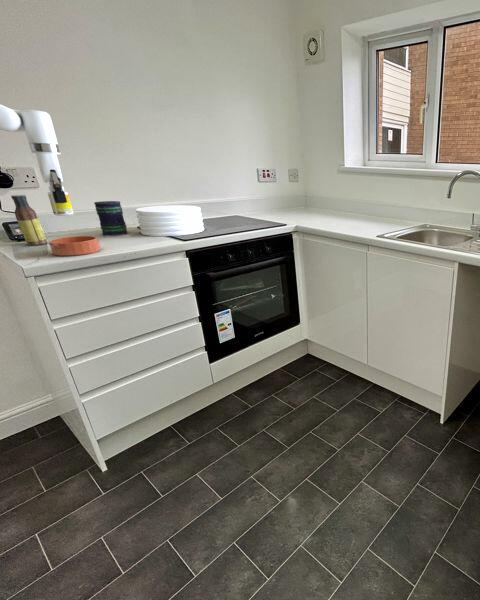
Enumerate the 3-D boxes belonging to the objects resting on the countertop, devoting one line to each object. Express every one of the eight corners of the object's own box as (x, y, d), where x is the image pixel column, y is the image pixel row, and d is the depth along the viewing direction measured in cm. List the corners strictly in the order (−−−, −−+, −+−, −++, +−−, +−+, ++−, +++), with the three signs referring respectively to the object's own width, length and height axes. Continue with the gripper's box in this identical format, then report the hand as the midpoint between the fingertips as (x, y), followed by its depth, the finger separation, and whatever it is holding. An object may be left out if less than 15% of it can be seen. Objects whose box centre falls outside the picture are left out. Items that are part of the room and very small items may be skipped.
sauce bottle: (44, 241, 151) (28, 194, 143) (50, 243, 148) (33, 195, 140) (23, 244, 145) (5, 194, 138) (29, 246, 142) (10, 196, 135)
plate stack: (131, 230, 178) (126, 207, 174) (188, 224, 200) (184, 204, 196) (155, 238, 164) (150, 213, 159) (214, 231, 185) (211, 209, 181)
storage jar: (98, 234, 169) (89, 202, 163) (120, 231, 177) (112, 200, 171) (110, 236, 165) (101, 203, 159) (132, 233, 173) (124, 202, 168)
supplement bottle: (78, 214, 134) (70, 186, 131) (63, 216, 129) (55, 187, 126) (64, 213, 135) (56, 185, 131) (49, 215, 130) (41, 186, 126)
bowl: (55, 258, 128) (50, 245, 126) (51, 251, 137) (46, 238, 135) (104, 252, 138) (100, 240, 136) (97, 246, 146) (94, 234, 145)
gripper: (28, 148, 127) (44, 200, 133) (31, 148, 116) (48, 204, 122) (57, 150, 132) (70, 199, 138) (62, 150, 121) (77, 203, 128)
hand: (60, 201), depth 130 cm, fingers closed on supplement bottle, 5 cm apart
